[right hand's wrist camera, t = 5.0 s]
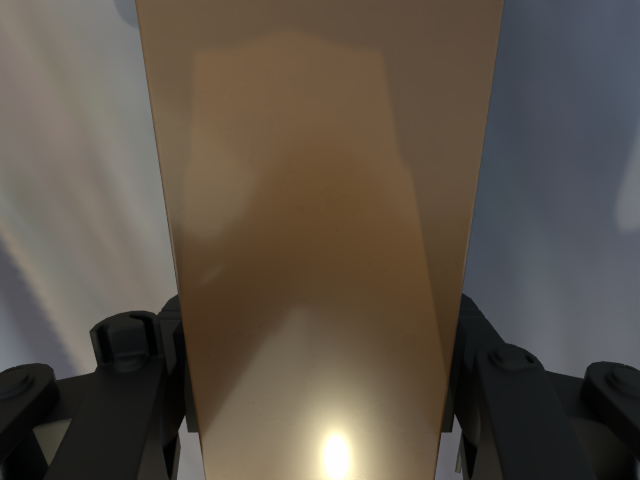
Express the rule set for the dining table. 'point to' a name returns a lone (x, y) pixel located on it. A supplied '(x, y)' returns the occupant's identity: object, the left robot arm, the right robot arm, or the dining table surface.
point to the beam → (319, 221)
